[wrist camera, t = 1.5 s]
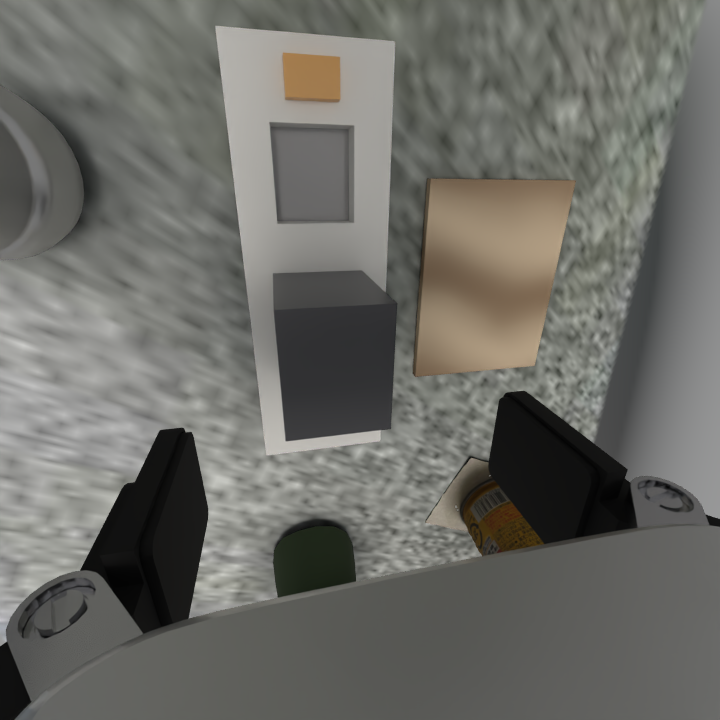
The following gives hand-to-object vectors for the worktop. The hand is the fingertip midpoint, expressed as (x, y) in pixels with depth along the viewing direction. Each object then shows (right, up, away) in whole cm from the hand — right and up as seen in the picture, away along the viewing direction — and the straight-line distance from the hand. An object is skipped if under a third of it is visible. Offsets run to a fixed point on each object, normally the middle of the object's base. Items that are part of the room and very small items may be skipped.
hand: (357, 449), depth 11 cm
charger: (-2, +5, +9) cm, 11 cm away
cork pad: (+8, +8, +13) cm, 17 cm away
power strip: (-3, +8, +10) cm, 13 cm away
